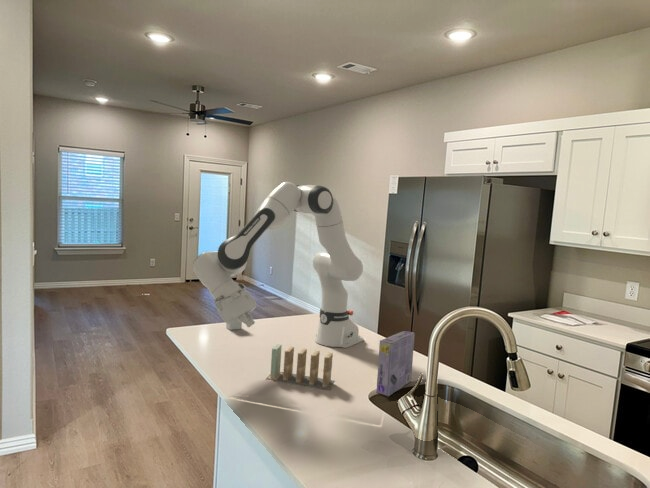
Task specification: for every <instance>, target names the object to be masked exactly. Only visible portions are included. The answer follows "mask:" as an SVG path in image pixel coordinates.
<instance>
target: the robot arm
mask: <svg viewBox="0 0 650 488" xmlns="http://www.w3.org/2000/svg"><path fill="white" fill-rule="evenodd" d="M333 196H334V195H332V192H331V191H330V189H329V188H327V187H325V186H323V185H315V184H303V185H300V184H299V185H298V184H297V185H296V184H295V183H293V182H291V181H283V182H281V183H280V184H279V185H277V186H276V187H275V188H274V189H273V190H272V191H271V192H270V193H269V194H268V195H267V196H266V197H265V198H264V200H263V201H262V202H261V204H260V205H259V206H258V209H257V210H256V212H255V214H254V215H253V217H252V218H251V219H250V220H249V221H248V222H247V223H246V224H245V226H244V227H243V228H242V229H241V230H240V231H239V232H238V233H237V234H235V235H233V236H231V237H229V238H227V239H225V240H224V241H223V242H221V244H220V245H219V247H218V248H217V249H218V250H217V251H215V250H214V251H208V250H207V251H203V252H202V253H201V254H199V255H198V256H197V257H196V259H195V260H194V261H193V265H192V270H193V272H194V275H195V276H196V277H197V279H198V280H199V282H201V284H202V285H203V286H204V287H205V288H206V289H207V290H208V292H209V294H210V295H211V297H212V298H213V299H214V306H215V309H216V311H217V313H218V316H220V318H221V319H222V321H223V322H224V323H227V324H229V323H231V322H233V321H235V320H236V319H239V320H240V321H241V322H242V324H245V326H246V327H247V328H251V327H252V326H254V325H255V324H256V321H255V320H254V319H253V317H252V313H251V312H252V311H253V310H254V309H256V308H257V306H258V304H257V302H256V300H255V298H254V297H253V295H252V294H251V293H250V292H249V291H248V290H247V287H246V285H244V283H240V282H237V281H234V279H233V277H235V276H237V275H240V274H241V273H242V272H243V271H245V269H246V267H247V263H248V259H249V257H250V252H251V249H252V248H253V246H254V245H255V243H256V242H257V241H258V240H259V239H260V238H261V237H262V236H263V234H264V233H265V232H266V231H267V230H276V229H278V228H279V227H280V226H282V225H283V224H284V223H285V222H286V221H287V220H288V219H289V217H290V216H291V215H292V213H293V212H297V213H298V212H299V213H303V214H313V215H314V220H315V225H316V230H317V236H318V241H319V243H320V245H321V246H322V247H323V248H324V249H325V250H324V251H322V250H321V251H319V252H317V253H316V254H315V255H314V257H313V259H312V266H313V269H314V271H315V272H316V274H317V275H318V277H319V282H320V285H321V286H320V288H321V307H320V310H319V320H318V326H317V333H316V334H315V340H314V342H315V343H317V344H319V345H322V346H325V347H331V348H332V347H334V348H337V347H338V348H344V349H345V348H346V349H347V348H349V347H352V346H355V345H357V344H359V343H361V342H363V341H364V337H363V336H362V335H360V334H359V326H358V325H357V324H356V323H355V322H353V321H352V320H351V319H350V316H353V315H354V311H353V310H351V309H349V310H348V300H349V299H348V298H349V293H348V291H347V289H346V288H345V287H344V284H343V281H344V282H355V281H357V280H359V279H360V278H361V276H362V274H363V272H364V266H363V265H364V264H363V262H362V260H361V259H359V258H358V256H357V255H356V254H355V253H354V251H353V250H352V248H351V246H350V244H349V242H348V239H347V236H346V232H345V227H344V221H343V216H342V213H341V212H342V211H341V209H340V206H339V203H338V201H337V199H336V198H335V197H333Z"/></svg>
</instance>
